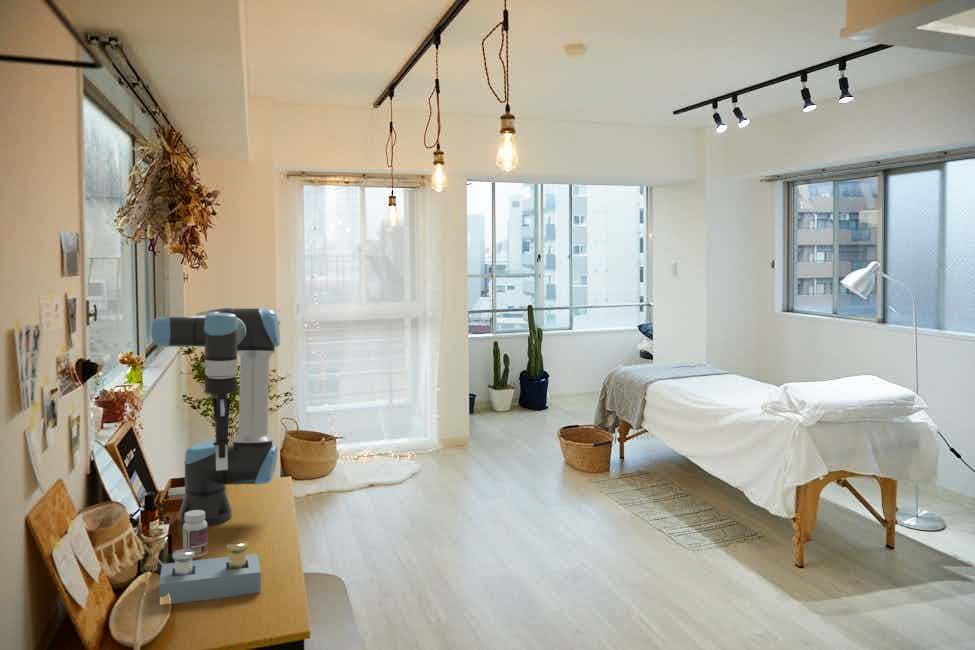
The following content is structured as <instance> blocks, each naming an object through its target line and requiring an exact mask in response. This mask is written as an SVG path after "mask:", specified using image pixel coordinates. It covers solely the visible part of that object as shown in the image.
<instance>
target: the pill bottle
mask: <svg viewBox="0 0 975 650" xmlns="http://www.w3.org/2000/svg"><path fill="white" fill-rule="evenodd" d="M204 519H205V511H203V510H192V511H188V512H186V513H185V518H184V520H185V521H186V522H185V523H184V524H182V549H192V550H194V551H195V556H194V557H193V558H192V559H196V558H200V557H203V556H205V555H207V554H208V539H209V538H208V525H207V522H206V521H205V520H204Z"/></svg>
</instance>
